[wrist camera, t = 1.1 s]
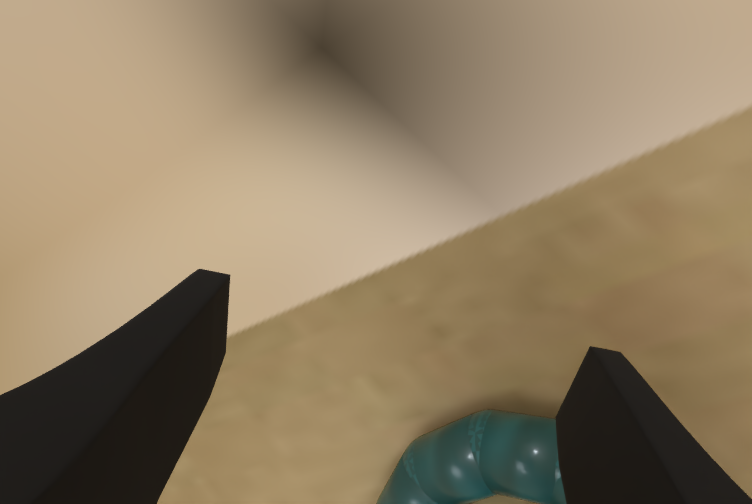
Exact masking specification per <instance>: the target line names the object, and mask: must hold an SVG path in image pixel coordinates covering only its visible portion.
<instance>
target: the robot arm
mask: <svg viewBox="0 0 752 504" xmlns="http://www.w3.org/2000/svg"><path fill="white" fill-rule="evenodd" d="M229 284H230V275H228V274H223V273H218V272H213V271H208V270H203V269H198V270H197V271H195V272H194V273H192V274H191V275H190V276H188V277H187V278H186V279H185V280H183V281H182V282H181V283H179V284H178V285H177V286H175V287H174V288H173V289H172V290H170V291H169V292H168V293H166V294H165V295H164V296H163V297H161V298H160V299H159V300H157V301H156V302H155V303H153V304H152V305H151V306H149V307H148V308H147V309H145V310H144V311H142V312H141V313H139V314H138V315H137V316H135V317H134V318H133V319H131V320H130V321H128V322H127V323H125V324H124V325H123V326H121V327H120V328H119V329H117V330H115V331H114V332H112V333H111V334H109V335H108V336H106V337H105V338H103V339H102V340H100V341H98V342H97V343H95V344H94V345H92V346H91V347H89V348H87V349H86V350H84V351H83V352H81V353H80V354H78V355H76V356H75V357H73V358H71V359H69V360H68V361H66V362H65V363H63V364H61V365H59V366H57V367H56V368H54V369H52V370H50V371H48V372H46V373H45V374H43V375H41V376H39V377H37V378H35V379H33V380H31V381H29V382H27V383H26V384H23V385H21V386H19V387H17V388H15V389H13V390H11V391H8V392H6V393H4V394H2V395H0V504H157V502H158V499H159V497H160V495H161V493H162V491H163V489H164V487H165V485H166V483H167V481H168V479H169V477H170V475H171V473H172V471H173V469H174V467H175V465H176V463H177V461H178V459H179V457H180V456H181V454H182V452H183V450H184V448H185V446H186V444H187V442H188V440H189V438H190V436H191V434H192V432H193V430H194V428H195V426H196V424H197V422H198V420H199V418H200V416H201V414H202V412H203V410H204V408H205V406H206V404H207V402H208V400H209V398H210V395H211V392H212V390H213V387H214V384H215V382H216V379H217V376H218V373H219V370H220V367H221V365H222V362H223V359H224V356H225V353H226V338H227V321H228V303H229ZM556 434H557V449H558V461H559V468H560V474H561V479H562V484H563V489H564V494H565V499H566V504H752V499H751V498H750V497H749V496H748V495H747V494H746V493H745V492H744V491H743V490H742V489H741V488H740V487H739V486H738V485H737V484H736V483H735V482H734V481H733V480H732V479H731V478H730V477H729V476H728V475H727V474H726V473H725V472H724V470H723V469H722V468H721V467H720V466H719V465H718V464H717V463H716V462H715V461H714V460H713V459H712V458H711V457H710V456H709V455H708V453H707V452H706V451H705V450H704V449H703V448H702V447H701V446H700V445H699V443H698V442H697V441H696V440H695V439H694V438H693V437H692V436H691V434H690V433H689V432H688V431H687V430H686V429H685V427H684V426H683V425H682V424H681V423H680V422H679V420H678V419H677V418H676V417H675V416H674V415H673V413H672V412H671V411H670V410H669V409H668V407H667V406H666V405H665V404H664V403H663V402H662V400H661V399H660V398H659V397H658V396H657V394H656V393H655V392H654V391H653V389H652V388H651V387H650V386H649V385H648V383H647V382H646V381H645V380H644V379H643V377H642V376H641V375H640V374H639V373H638V372H637V370H636V369H635V368H634V367H633V366H632V365H631V363H630V362H629V361H628V360H627V359H626V358H625V357H624V356H623V354H622V353H621V352H617V351H612V350H607V349H602V348H597V347H592V346H590V347H589V349H588V351H587V354H586V356H585V358H584V360H583V362H582V364H581V366H580V368H579V370H578V372H577V374H576V376H575V378H574V380H573V382H572V385H571V387H570V389H569V391H568V393H567V395H566V397H565V399H564V401H563V403H562V405H561V407H560V409H559V411H558V414H557V416H556Z"/></svg>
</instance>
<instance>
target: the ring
mask: <svg viewBox="0 0 752 504" xmlns="http://www.w3.org/2000/svg"><path fill="white" fill-rule="evenodd" d="M497 494H498V495H503V496H507V497H512V498H516V499H521V500H525V501H530V502H535V503H539V504H566V499H565V494H564V489H563V484H562V479H561V474H560V468H559V461H558V449H557V434H556V419H553V418H546V417H539V416H533V415H526V414H520V413H513V412H506V411H500V410H483V411H479V412H476V413H474V414H471V415H469V416H467V417H464V418H462V419H460V420H457V421H455V422H453V423H450V424H448V425H446V426H443V427H441V428H439V429H436V430H434V431H432V432H429V433H427V434H424V435H422V436H420V437H418V438H417V439H415V440H414V441H413V442H412V443H411V444H410V445H409V446H408V447H407V449H406V450H405V452H404V454H403V456H402V457H401V459H400V461H399V463H398V464H397V466H396V468H395V470H394V472H393V473H392V475H391V477H390V479H389V480H388V482H387V484H386V486H385V488H384V489H383V491H382V493H381V495H380V497H379V498H378V501H377V503H376V504H470V503H473V502H476V501H479V500H482V499H485V498H488V497H491V496H494V495H497Z"/></svg>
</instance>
